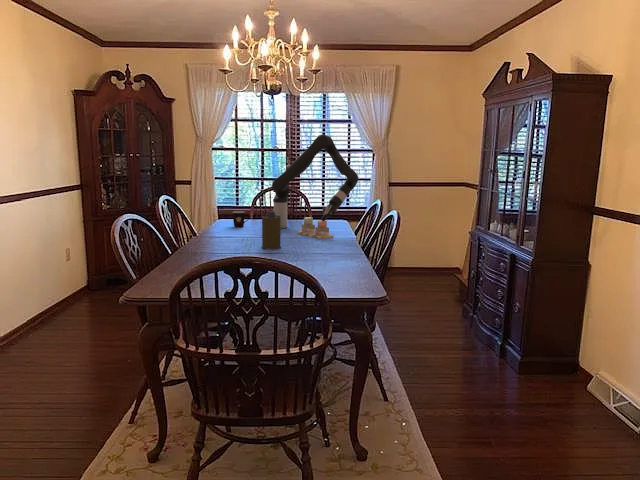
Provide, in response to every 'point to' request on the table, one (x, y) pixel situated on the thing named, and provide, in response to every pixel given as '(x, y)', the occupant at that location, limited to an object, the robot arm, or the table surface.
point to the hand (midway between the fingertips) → (322, 220)
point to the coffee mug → (239, 218)
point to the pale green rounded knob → (308, 221)
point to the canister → (271, 231)
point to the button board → (312, 234)
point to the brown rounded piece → (322, 224)
